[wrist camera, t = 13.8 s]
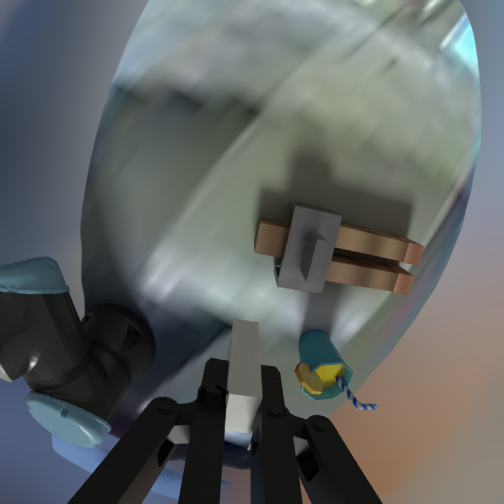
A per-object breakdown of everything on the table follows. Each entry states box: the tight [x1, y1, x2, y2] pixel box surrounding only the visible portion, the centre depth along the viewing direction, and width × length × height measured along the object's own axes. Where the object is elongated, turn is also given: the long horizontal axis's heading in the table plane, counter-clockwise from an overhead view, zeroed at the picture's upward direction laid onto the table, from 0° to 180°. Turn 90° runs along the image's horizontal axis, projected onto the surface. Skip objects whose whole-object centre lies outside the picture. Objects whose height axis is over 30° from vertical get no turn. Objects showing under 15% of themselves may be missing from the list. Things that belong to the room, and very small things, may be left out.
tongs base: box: [254, 218, 414, 295], centre depth 38 cm, size 24×6×5 cm, turn 79°
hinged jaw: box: [335, 222, 424, 266], centre depth 37 cm, size 18×3×5 cm, turn 79°
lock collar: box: [274, 201, 342, 294], centre depth 35 cm, size 6×10×10 cm, turn 169°
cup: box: [295, 330, 377, 410], centre depth 38 cm, size 14×8×15 cm, turn 66°
